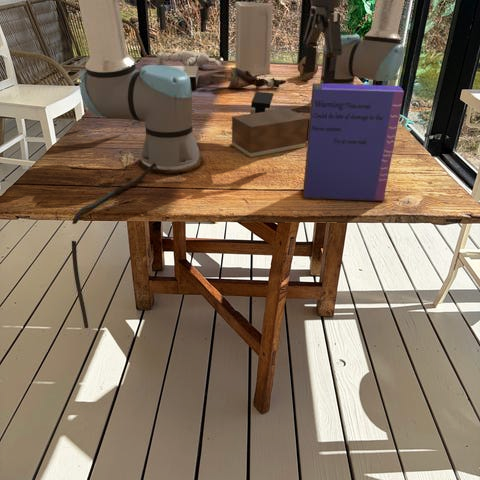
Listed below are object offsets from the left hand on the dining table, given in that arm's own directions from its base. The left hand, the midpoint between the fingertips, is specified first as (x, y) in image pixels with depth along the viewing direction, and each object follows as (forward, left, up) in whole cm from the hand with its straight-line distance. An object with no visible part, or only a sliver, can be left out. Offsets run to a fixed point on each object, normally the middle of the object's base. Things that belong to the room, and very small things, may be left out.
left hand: (183, 30), depth 149 cm
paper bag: (+68, -12, -26) cm, 73 cm away
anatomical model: (+62, -36, -26) cm, 77 cm away
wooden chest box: (-26, -32, -26) cm, 49 cm away
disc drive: (+38, +16, -26) cm, 49 cm away
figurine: (+38, -14, -26) cm, 48 cm away
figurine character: (-3, -26, -26) cm, 37 cm away
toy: (+71, +20, -26) cm, 78 cm away
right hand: (-20, -44, -8) cm, 49 cm away
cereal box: (-55, -53, -26) cm, 80 cm away
